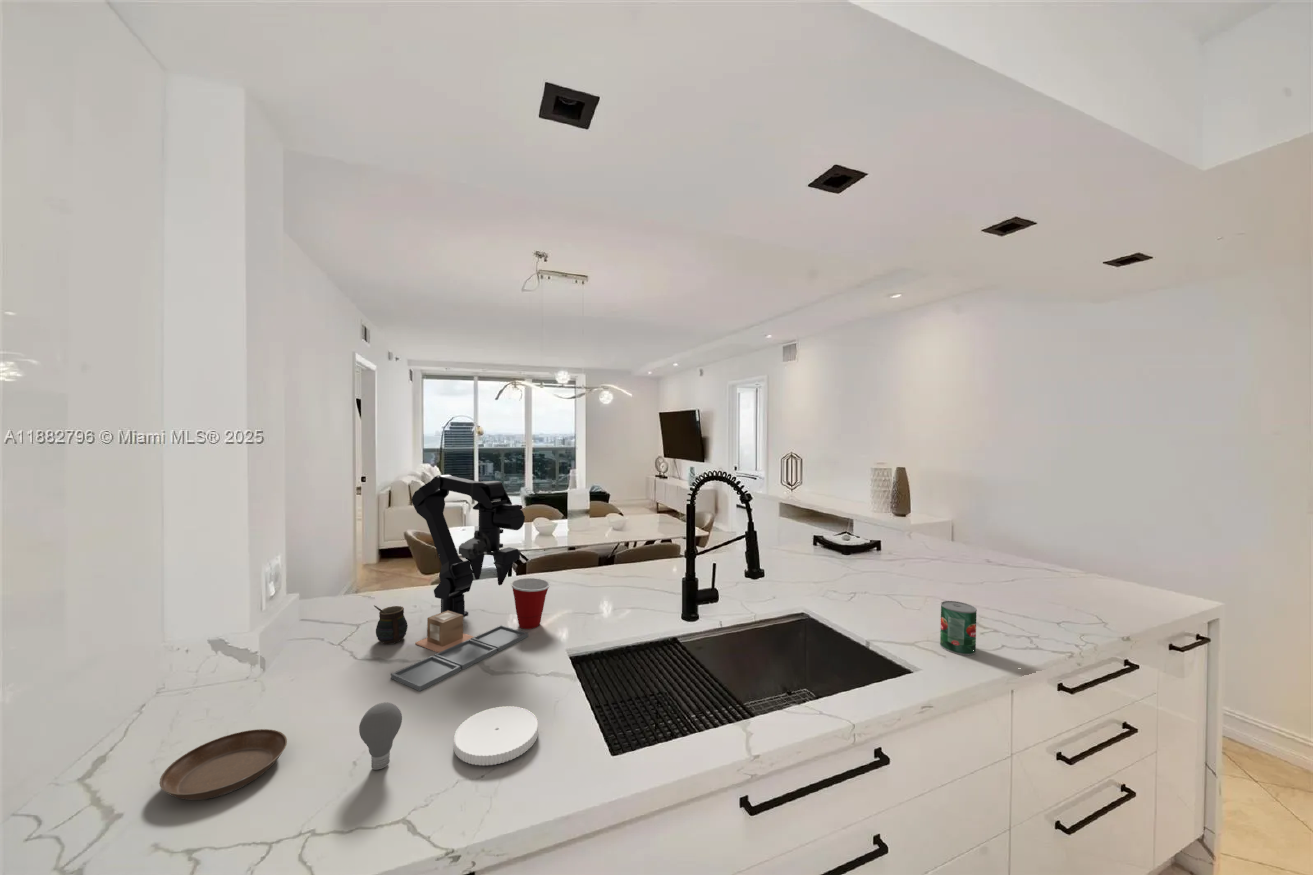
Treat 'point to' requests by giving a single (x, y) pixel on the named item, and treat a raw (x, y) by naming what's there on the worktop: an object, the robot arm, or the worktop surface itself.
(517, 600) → the plastic cup
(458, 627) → the cardboard box
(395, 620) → the mate gourd
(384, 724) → the light bulb
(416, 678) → the tray
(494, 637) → the tray
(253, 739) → the saucer
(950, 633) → the canned tomato
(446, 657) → the tray
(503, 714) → the plastic lid
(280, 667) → the worktop surface
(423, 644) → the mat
